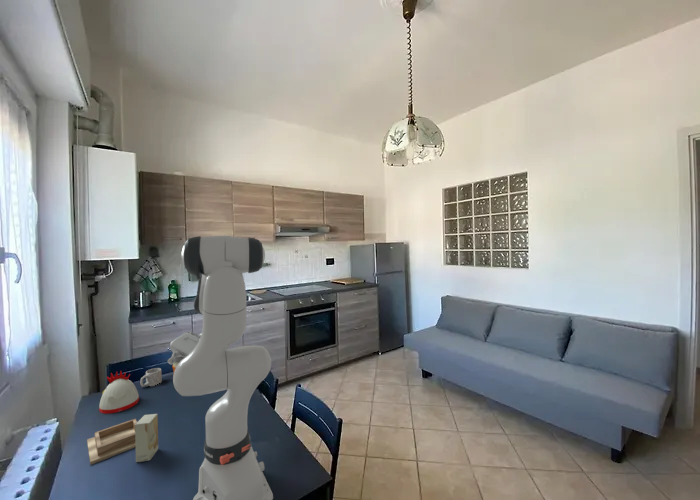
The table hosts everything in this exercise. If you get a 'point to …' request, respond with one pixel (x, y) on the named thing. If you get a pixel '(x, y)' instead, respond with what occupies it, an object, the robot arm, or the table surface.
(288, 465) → the table surface
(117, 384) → the kitchen timer
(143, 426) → the skincare box
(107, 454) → the oak stand
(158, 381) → the mug
